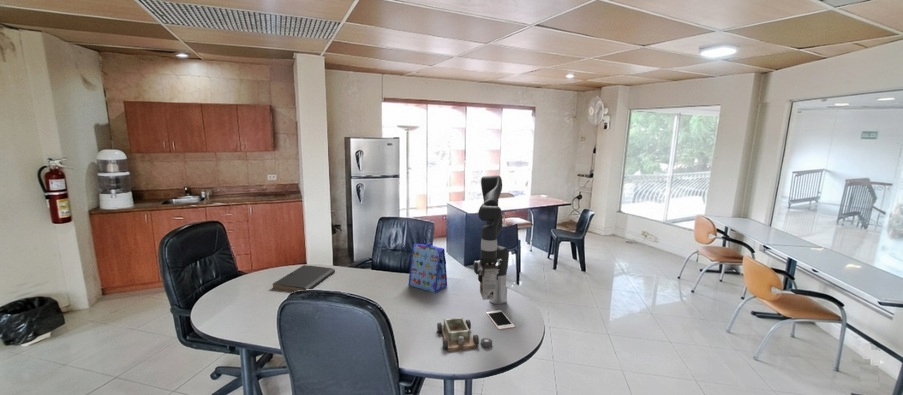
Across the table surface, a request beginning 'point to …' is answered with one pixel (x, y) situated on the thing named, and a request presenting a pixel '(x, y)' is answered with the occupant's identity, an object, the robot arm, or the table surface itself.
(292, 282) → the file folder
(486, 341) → the loose wheel
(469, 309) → the table surface
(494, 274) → the coffee box
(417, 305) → the table surface
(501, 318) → the cell phone
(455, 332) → the chassis
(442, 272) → the lunch bag
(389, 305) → the table surface
